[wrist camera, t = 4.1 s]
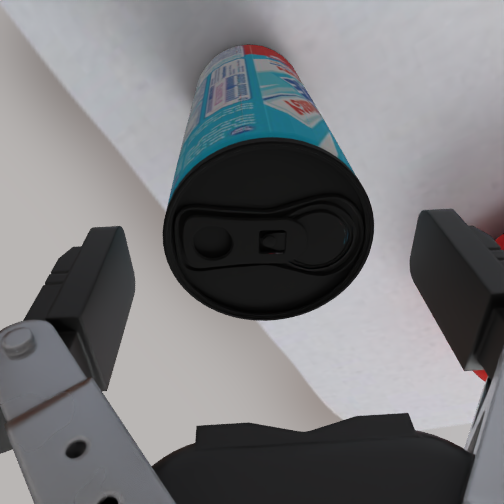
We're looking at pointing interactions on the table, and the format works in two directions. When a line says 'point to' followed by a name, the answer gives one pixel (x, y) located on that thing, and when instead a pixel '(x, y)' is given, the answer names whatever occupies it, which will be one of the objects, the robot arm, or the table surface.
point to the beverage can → (263, 195)
